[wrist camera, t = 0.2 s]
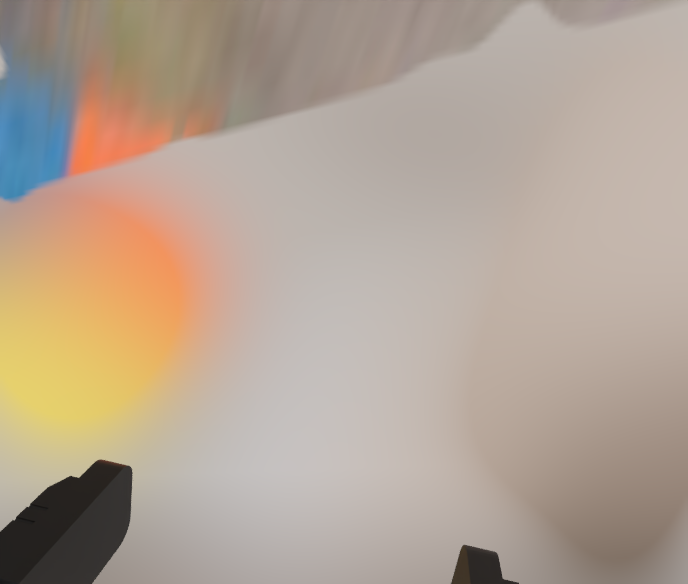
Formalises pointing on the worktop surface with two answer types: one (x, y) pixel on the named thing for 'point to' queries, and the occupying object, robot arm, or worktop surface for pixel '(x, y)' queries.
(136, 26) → the worktop surface
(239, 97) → the worktop surface
